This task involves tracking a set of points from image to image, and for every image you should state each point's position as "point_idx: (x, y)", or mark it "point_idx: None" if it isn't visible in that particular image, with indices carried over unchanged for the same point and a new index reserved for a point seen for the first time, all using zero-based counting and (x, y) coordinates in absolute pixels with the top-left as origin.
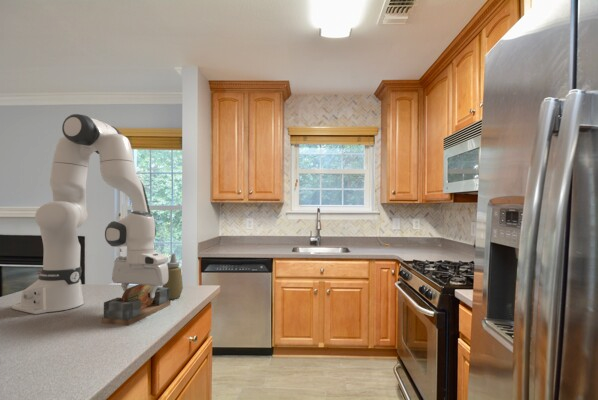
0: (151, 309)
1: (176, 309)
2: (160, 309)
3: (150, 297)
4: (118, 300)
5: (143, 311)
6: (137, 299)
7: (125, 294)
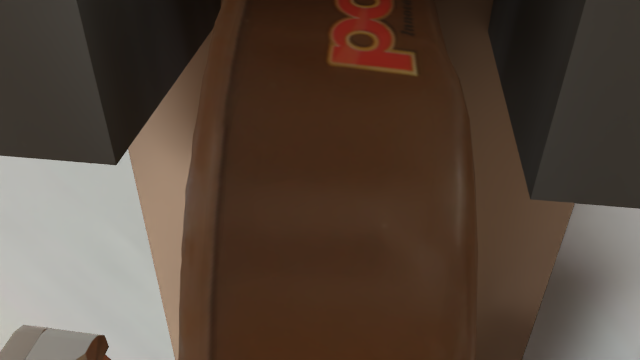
0: (159, 221)
1: (46, 320)
2: None
3: (36, 329)
4: (566, 35)
5: (192, 138)
6: (27, 126)
7: (347, 181)
